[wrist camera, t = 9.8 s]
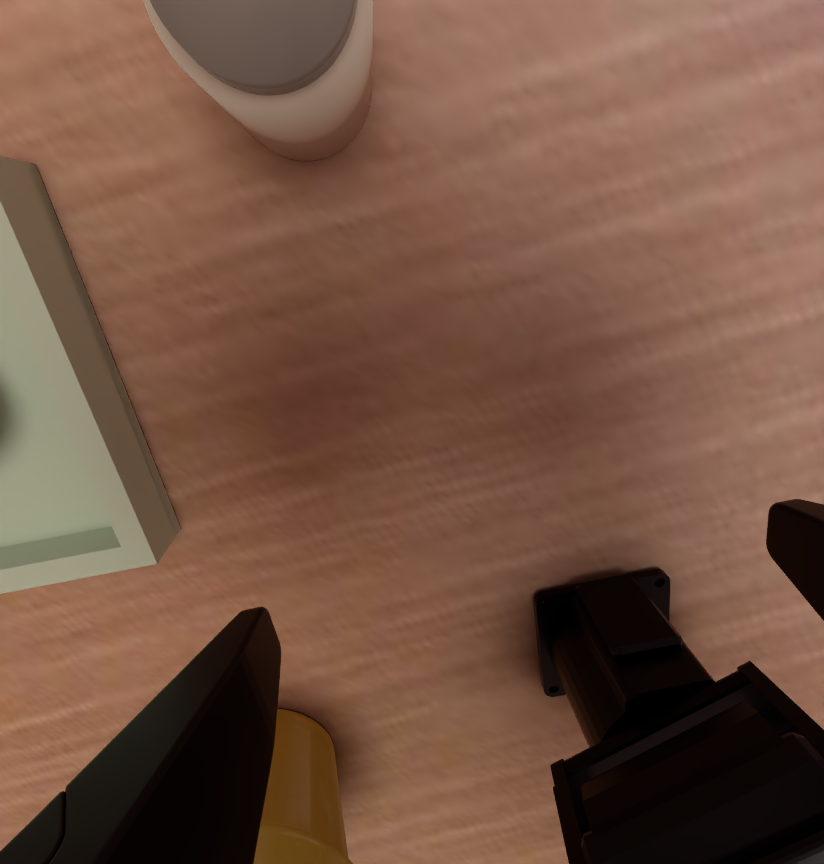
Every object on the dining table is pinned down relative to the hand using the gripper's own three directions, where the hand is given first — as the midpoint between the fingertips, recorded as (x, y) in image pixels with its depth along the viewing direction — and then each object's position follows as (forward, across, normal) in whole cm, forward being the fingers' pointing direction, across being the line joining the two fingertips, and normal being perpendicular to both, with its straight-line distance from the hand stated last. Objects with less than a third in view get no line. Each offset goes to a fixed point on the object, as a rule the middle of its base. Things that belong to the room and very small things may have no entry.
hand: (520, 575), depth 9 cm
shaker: (+12, +3, -11) cm, 16 cm away
